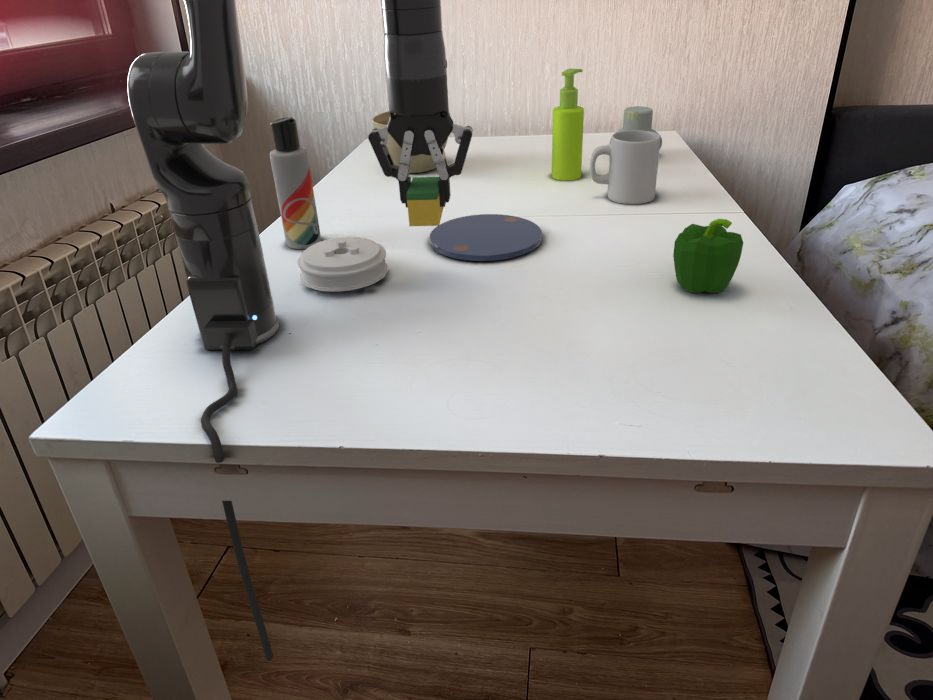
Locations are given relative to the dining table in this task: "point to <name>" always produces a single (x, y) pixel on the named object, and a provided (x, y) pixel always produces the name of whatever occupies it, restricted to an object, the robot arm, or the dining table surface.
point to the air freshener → (638, 120)
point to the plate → (485, 237)
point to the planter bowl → (417, 162)
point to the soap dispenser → (567, 132)
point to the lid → (342, 264)
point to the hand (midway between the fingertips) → (426, 204)
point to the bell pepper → (707, 256)
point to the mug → (629, 166)
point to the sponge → (424, 202)
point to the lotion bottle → (294, 186)
